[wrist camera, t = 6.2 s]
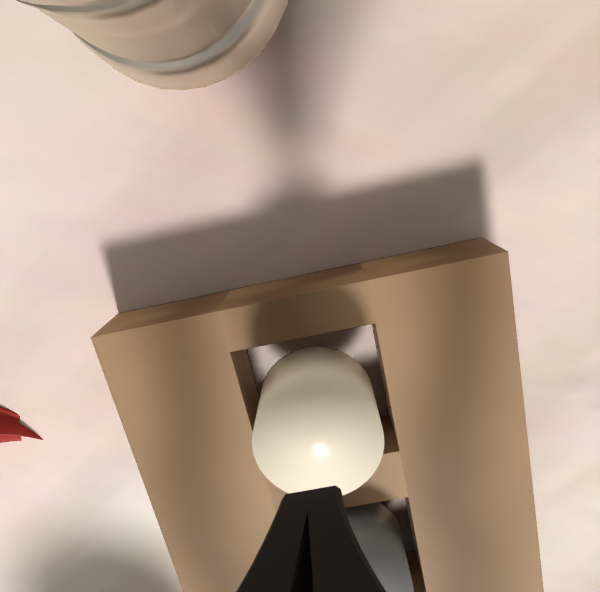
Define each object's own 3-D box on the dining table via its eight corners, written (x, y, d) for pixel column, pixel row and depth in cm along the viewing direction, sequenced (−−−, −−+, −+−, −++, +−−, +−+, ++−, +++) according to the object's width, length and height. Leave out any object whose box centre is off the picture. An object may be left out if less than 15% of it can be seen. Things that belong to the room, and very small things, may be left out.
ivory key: (362, 336, 17) (371, 372, 14) (382, 437, 18) (394, 487, 16) (249, 358, 17) (237, 397, 15) (275, 456, 19) (269, 509, 16)
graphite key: (391, 488, 20) (404, 542, 17) (407, 567, 21) (421, 629, 18) (294, 505, 20) (291, 560, 18) (314, 582, 21) (314, 644, 19)
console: (482, 237, 18) (508, 251, 16) (534, 676, 24) (558, 734, 22) (118, 313, 19) (90, 337, 17) (255, 713, 26) (249, 772, 23)
